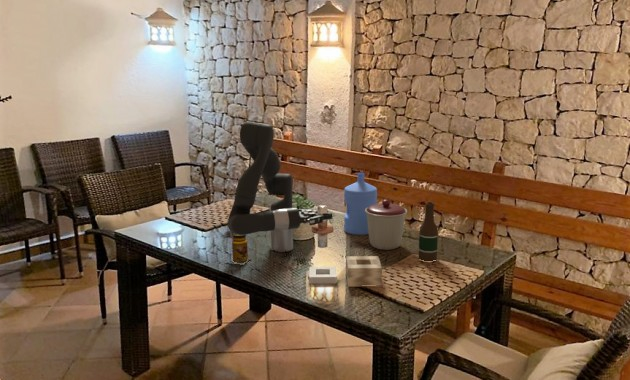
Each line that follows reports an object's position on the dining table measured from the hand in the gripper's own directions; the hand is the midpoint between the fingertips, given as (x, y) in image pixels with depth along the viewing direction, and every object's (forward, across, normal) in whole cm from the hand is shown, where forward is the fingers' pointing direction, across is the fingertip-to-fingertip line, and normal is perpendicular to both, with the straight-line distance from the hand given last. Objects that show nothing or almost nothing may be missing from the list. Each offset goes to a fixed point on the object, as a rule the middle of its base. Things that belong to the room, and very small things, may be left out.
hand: (329, 214), depth 195 cm
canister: (+35, +23, +25) cm, 49 cm away
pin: (-3, 0, +12) cm, 12 cm away
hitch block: (+11, -7, +24) cm, 28 cm away
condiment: (-29, +28, +25) cm, 47 cm away
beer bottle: (+44, +2, +25) cm, 50 cm away
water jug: (+35, +48, +25) cm, 64 cm away
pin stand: (-3, 0, +25) cm, 25 cm away
